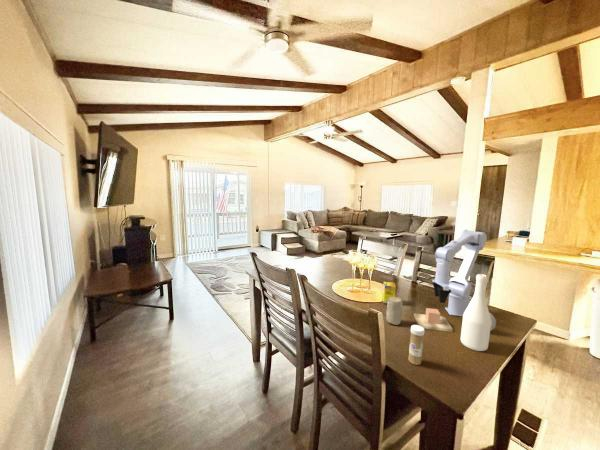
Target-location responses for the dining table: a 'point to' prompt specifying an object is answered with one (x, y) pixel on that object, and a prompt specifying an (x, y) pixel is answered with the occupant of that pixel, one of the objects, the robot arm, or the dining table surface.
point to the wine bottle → (477, 319)
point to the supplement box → (388, 291)
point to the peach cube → (432, 316)
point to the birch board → (442, 326)
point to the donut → (492, 322)
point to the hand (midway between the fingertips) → (439, 299)
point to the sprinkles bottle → (416, 344)
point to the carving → (394, 310)
